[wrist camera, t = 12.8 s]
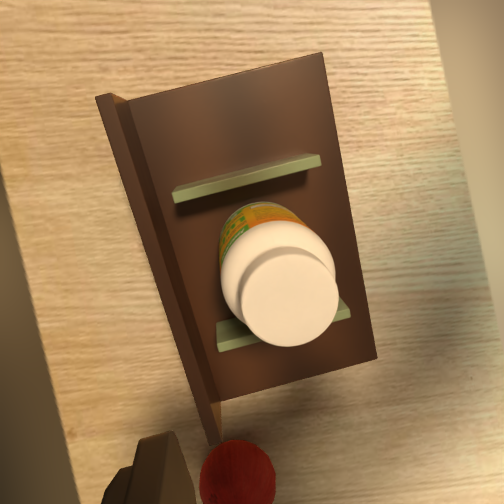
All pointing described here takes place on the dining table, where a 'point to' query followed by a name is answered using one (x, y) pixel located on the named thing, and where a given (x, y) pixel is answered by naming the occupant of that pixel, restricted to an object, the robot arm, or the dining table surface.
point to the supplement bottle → (277, 274)
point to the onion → (237, 475)
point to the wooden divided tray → (230, 200)
